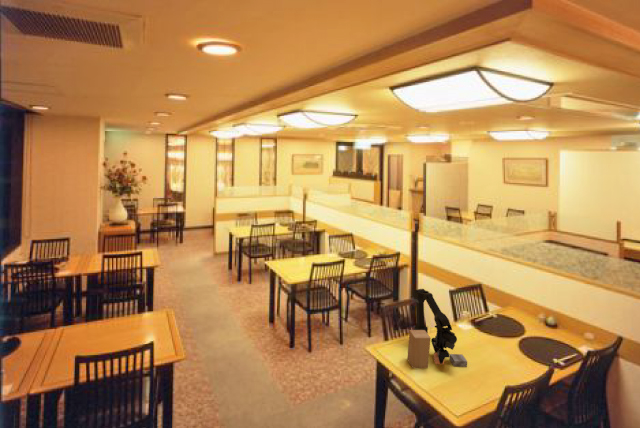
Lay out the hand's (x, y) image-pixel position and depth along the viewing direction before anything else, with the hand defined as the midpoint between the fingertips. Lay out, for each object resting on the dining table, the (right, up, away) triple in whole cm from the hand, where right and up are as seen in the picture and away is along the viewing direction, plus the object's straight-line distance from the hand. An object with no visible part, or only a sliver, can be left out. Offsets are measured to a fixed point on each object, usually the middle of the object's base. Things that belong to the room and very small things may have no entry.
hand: (438, 359), depth 227 cm
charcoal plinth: (+12, -2, 0) cm, 12 cm away
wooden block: (-14, -2, -2) cm, 14 cm away
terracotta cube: (0, -2, 0) cm, 2 cm away
